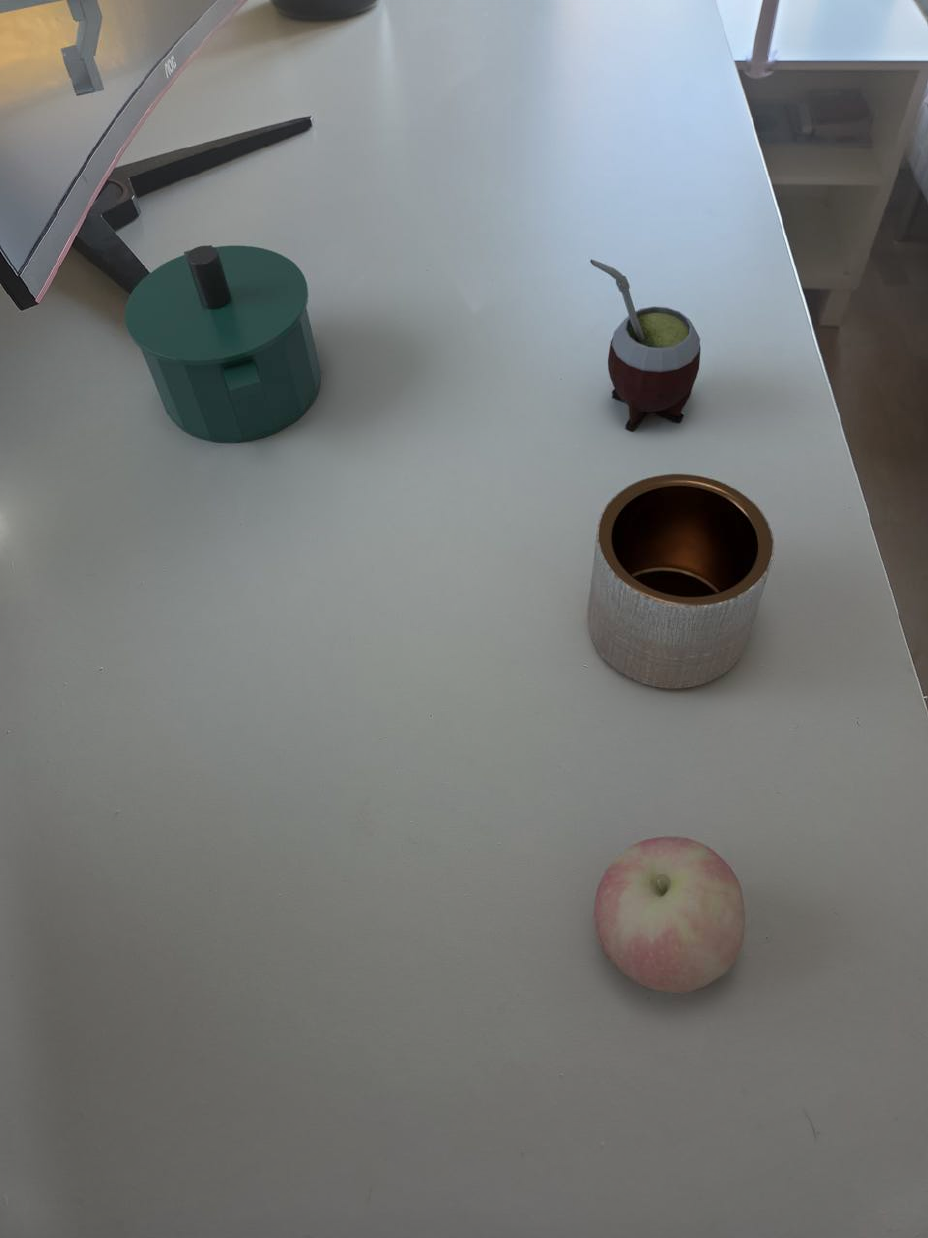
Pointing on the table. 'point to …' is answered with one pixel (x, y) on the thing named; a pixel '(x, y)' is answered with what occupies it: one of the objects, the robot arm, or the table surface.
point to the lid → (216, 305)
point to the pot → (242, 389)
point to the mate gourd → (652, 358)
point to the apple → (670, 914)
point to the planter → (677, 579)
